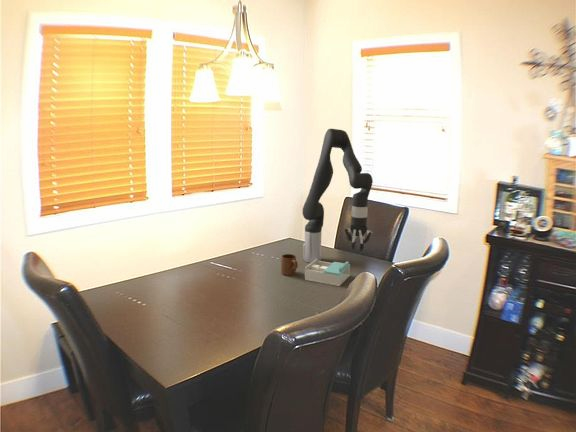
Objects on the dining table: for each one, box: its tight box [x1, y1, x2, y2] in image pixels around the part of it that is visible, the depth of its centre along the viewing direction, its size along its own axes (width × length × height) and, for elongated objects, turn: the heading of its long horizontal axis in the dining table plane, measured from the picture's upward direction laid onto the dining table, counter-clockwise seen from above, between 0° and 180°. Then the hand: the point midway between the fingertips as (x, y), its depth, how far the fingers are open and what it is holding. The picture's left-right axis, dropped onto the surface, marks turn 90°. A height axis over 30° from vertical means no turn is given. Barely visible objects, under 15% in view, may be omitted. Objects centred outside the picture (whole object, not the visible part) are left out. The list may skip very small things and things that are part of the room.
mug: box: [280, 253, 299, 277], centre depth 228 cm, size 12×8×9 cm, turn 30°
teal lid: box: [323, 261, 351, 275], centre depth 222 cm, size 8×15×3 cm, turn 154°
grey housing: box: [304, 259, 351, 287], centre depth 225 cm, size 18×15×6 cm
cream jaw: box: [319, 266, 328, 272], centre depth 226 cm, size 4×4×4 cm
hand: (357, 249), depth 215 cm, fingers open, 3 cm apart
